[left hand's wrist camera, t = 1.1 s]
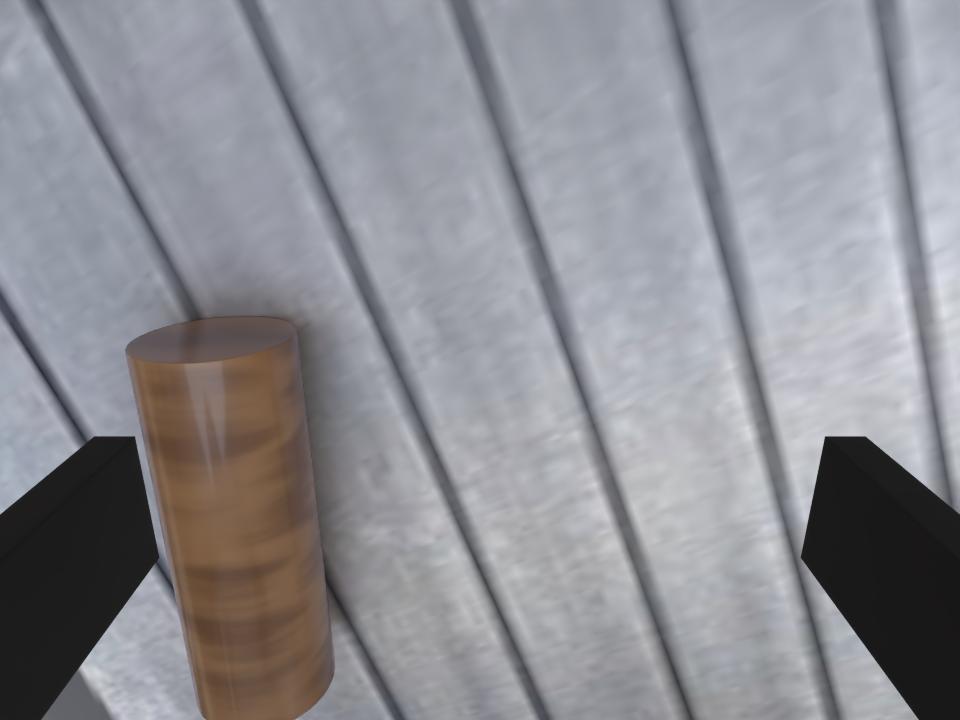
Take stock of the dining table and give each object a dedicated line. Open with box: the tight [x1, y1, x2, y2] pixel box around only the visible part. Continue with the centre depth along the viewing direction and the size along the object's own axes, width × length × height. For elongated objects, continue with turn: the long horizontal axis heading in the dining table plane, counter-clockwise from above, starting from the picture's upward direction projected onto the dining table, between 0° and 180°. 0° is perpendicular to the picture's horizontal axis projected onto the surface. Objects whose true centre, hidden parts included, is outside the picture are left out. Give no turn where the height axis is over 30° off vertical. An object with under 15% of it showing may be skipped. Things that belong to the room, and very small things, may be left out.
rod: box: [125, 316, 335, 720], centre depth 40 cm, size 24×9×9 cm, turn 1°
